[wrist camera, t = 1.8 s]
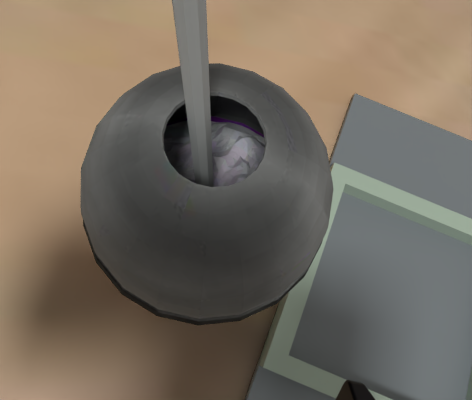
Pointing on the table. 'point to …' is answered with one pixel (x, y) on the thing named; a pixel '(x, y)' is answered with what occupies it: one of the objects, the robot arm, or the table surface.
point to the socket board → (383, 271)
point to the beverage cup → (205, 187)
